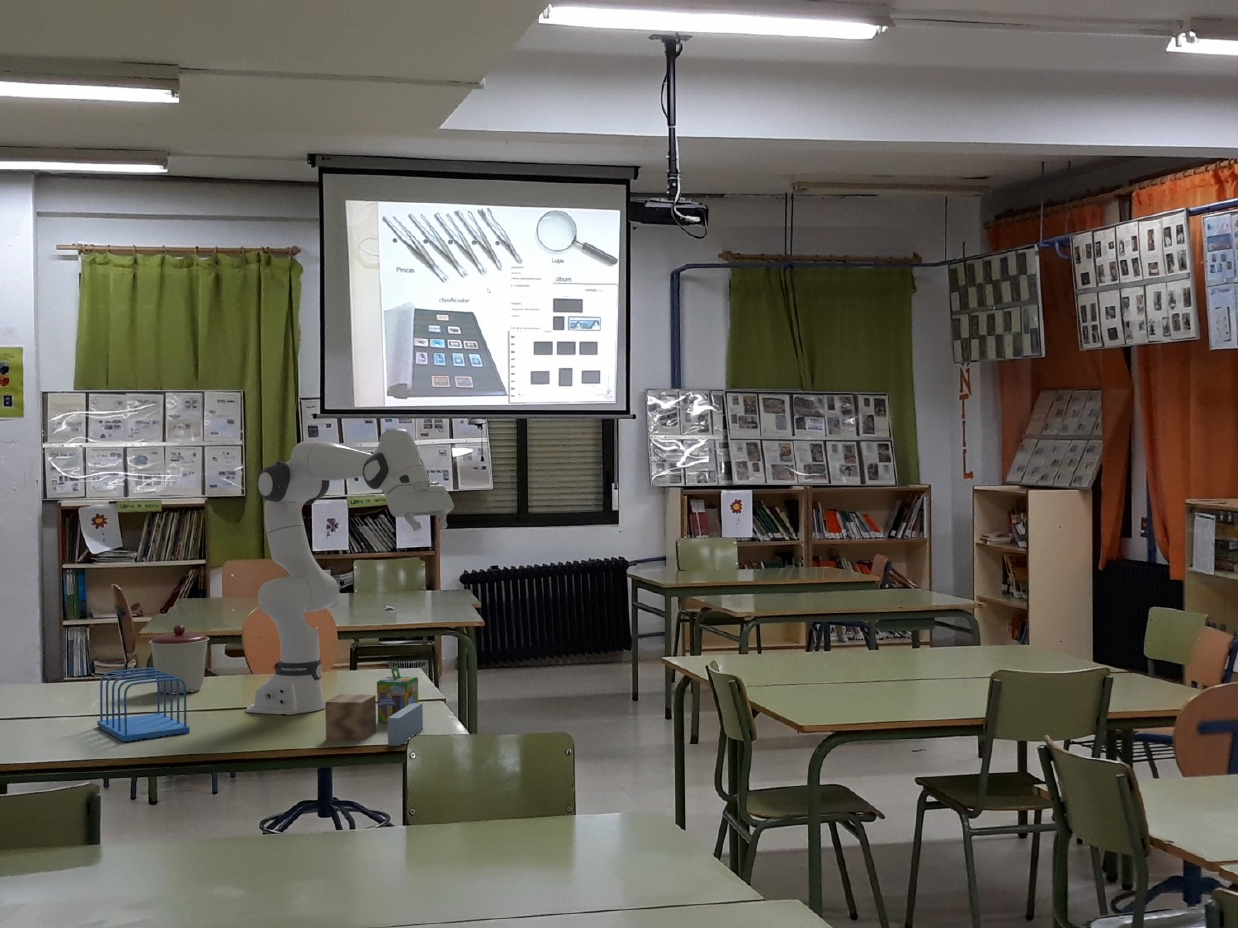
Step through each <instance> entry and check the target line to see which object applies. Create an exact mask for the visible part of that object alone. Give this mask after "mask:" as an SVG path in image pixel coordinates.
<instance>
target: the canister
mask: <svg viewBox="0 0 1238 928" xmlns="http://www.w3.org/2000/svg"><path fill="white" fill-rule="evenodd" d="M172 631H173V633H165V634H161V635H157V636H155V637H153V638H152V639H150V640H149V641H148V644H149V645H150V646H151V655H152V663H153V668H154V669H156V670H159V671H161V672H163V673H167V674H169V675H170V676H174V677H176V678H179V679H181V680H183V681H184V682H185V685H186V692H191V691H195V690H197V691H199V690H201V688H202V686H203V685H204V684H203V683H204V678H205V670H206V661H207V659H206V658H207V650H208V641H209V640H210V637H208V636H206V635H205V634H204V633H200V632H185V631H186V628H185V626H184V625H182V624H178V625H174V626H173V628H172ZM154 673H156V672H154ZM159 676H162V675H159ZM165 676H166V675H165ZM154 677H157V675H156V676H154ZM162 679H163V678H159V680H162ZM166 679H169V678H166ZM155 680H157V679H155ZM178 682H179V693H184V686H183V683H182V682H181V681H178ZM155 683H156V684H157V682H155ZM172 686H173V693H177V684H176V681H175V680H173V681H172ZM162 692H163V693H162ZM195 692H196V691H195ZM160 693H162V694H164V681H163V682H160ZM166 693H170V681H166ZM191 693H192V692H191Z"/></svg>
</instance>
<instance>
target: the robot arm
mask: <svg viewBox="0 0 1238 928" xmlns="http://www.w3.org/2000/svg"><path fill="white" fill-rule="evenodd" d="M356 478H363V480H364V482H365V484H366V485H367V486H368V487H369V488H370V489H371V490H380V491H381V490H382V491H383V494H384V495H386V496H385V500H386V504H387V507H388V510H389V512H390V514H391V515H392V517H394V518H404V519H405V522H407V523H408V524H409V525H410V526H411V528H412V531H414V532H416V531H417V532H419V531H420V530H421V529H422V525H421V523H420V522H419V521H417V520H416V519H415V517H422V516H423V517H424V516H437V518H438V519H439V522H438V523H437V524H438V527H439V529H441V530H442V529H443V530H444V529H446V528H447V527H448V523H447V515H448V514H449V513H451V511H453V510H454V507H455V504H454V501H453V500H452V497H451V495H450V494H449V492H448V490H447V489H446V487H445V486H444V485H443V484H442V483H440V482H438V481H432V482H431V480H430V479H431V478H430V477H429V474H428V472H427V469H426V466H425V464H424V462H423V460H422V459H421V455H420V451H419V449H418V446H417V445H416V442H415V440H414V438H413V437H412V435H411V433H410V432H409V431H408V430H407V429H405V428H393V429H388V430H386V431H384V432H383V433H382V434H380V436H379V442H378V446H376V449H375V451H374V452H373V453H369V452H365V451H362V450H358V449H354V448H350V447H348V446H346V445H342V444H339V443H335V442H331V441H325V440H316V439H315V440H305V441H301V442H299V443H297V444H296V445H295V446H294V447H293V448H292V451H291V454H290V459H289V460H288V461H286V462H284V461H282V460H279V461H277V462H275V463H274V464H272V465H269V466H267V467H265V468H263V469H262V470H261V472H260V473H259V475H258V476H257V481H256V485H257V490H258V494H259V495H260V496H261V498H262V499H264V500H265V502H264V510H263V511H264V514H263V516H264V525H265V527H264V528H265V532H266V538H267V542H268V543H267V544H268V547H269V552H270V557H271V559H272V561H273V562H274V563H275V564H277V565H278V566H280V567H282V568H283V569H284V570H286V572H287V573H288V575H289V576H283V577H277V578H274V579H271V580H269V581H266V582H264V583H262V584H261V586H260V588H259V589H258V593H257V602H258V605H259V608H260V609H261V611H262V612H263V613H264V614H266V615H267V616H269V617H270V619H271V620H272V621H273V623H274V625H275V626H276V629H277V633H278V637H279V650H280V651H279V652H280V660H279V661H278V662H276V663H274V664H273V665H272V670H274V673H273V675H272V676H271V677H270V678H268V679H266V680H265V682H263V683H262V684H261V685H259V687H258V688H257V689H256V691H255V696H254V702H253V703H252V704H249V705H248V706H247V707H246V712H247V713H252V714H256V713H257V714H269V715H281V714H286V716H289V715H297V714H302V713H303V714H305V713H311V712H315V711H316V712H317V711H321V710H323V709H325V702H326V701H325V698H324V693H323V687H322V682H321V681H322V680H321V679H322V673H323V672H322V671H323V668H322V660H321V658H320V634H319V632H318V630H316V628H314V627H312V626H310V625H309V624H308V623H307V621H306V619H305V613H310V612H311V613H312V612H319V611H322V610H325V609H327V608H329V607H332V606H334V605H335V604H336V603H337V601H338V599H339V595H340V594H339V593H340V588H339V585H338V583H337V581H336V579H335V578H334V577H333V576H331V575H330V574H328V573H327V572H326V571H324V570H323V569H322V568H321V567H320V565H319V563H318V562H317V561H316V558H315V557H314V555H313V553H312V550H311V548H310V547H311V546H310V544H309V541H308V540H309V539H308V535H307V531H306V527H305V523H304V519H303V514H302V509H303V506H304V505H307V506H312V505H313V504H314V503H315V502H316V501H318V500H319V499H321V498H323V497H324V496H325V495H326V493H327V492H328V490H329V488H330V482H331V481H340V480H349V479H356Z"/></svg>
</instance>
